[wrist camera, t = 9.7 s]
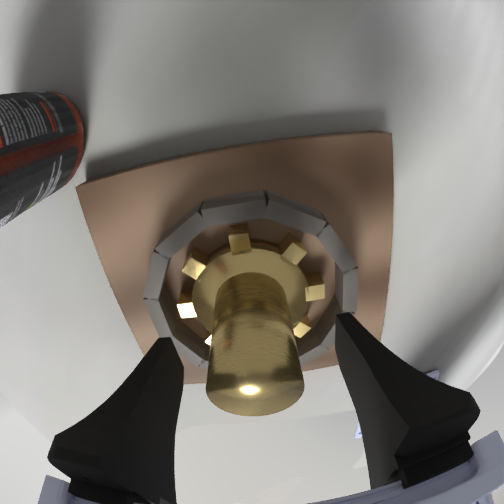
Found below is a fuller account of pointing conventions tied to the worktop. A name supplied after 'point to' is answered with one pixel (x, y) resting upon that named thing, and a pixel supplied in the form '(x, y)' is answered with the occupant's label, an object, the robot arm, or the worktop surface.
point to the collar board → (260, 227)
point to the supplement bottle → (36, 148)
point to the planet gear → (252, 319)
